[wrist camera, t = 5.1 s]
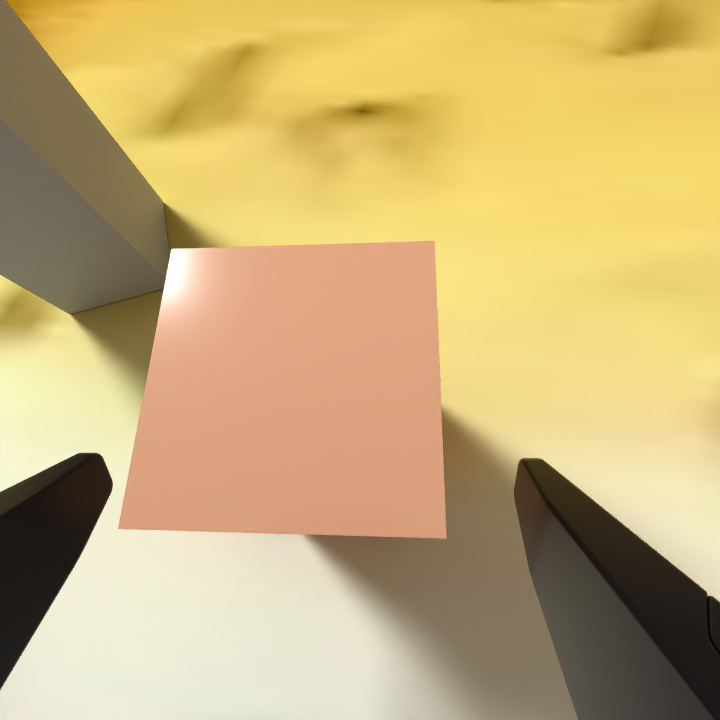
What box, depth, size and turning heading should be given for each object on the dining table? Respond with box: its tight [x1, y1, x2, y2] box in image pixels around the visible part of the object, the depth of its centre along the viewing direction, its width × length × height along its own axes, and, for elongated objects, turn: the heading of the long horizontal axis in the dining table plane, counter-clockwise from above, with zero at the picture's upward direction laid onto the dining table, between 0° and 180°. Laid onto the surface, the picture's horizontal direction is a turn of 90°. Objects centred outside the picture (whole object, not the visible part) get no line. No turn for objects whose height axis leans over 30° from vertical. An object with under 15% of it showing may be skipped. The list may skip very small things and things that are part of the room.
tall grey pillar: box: [0, 0, 170, 314], centre depth 17 cm, size 6×6×11 cm
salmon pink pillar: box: [118, 241, 447, 539], centre depth 13 cm, size 6×6×11 cm
